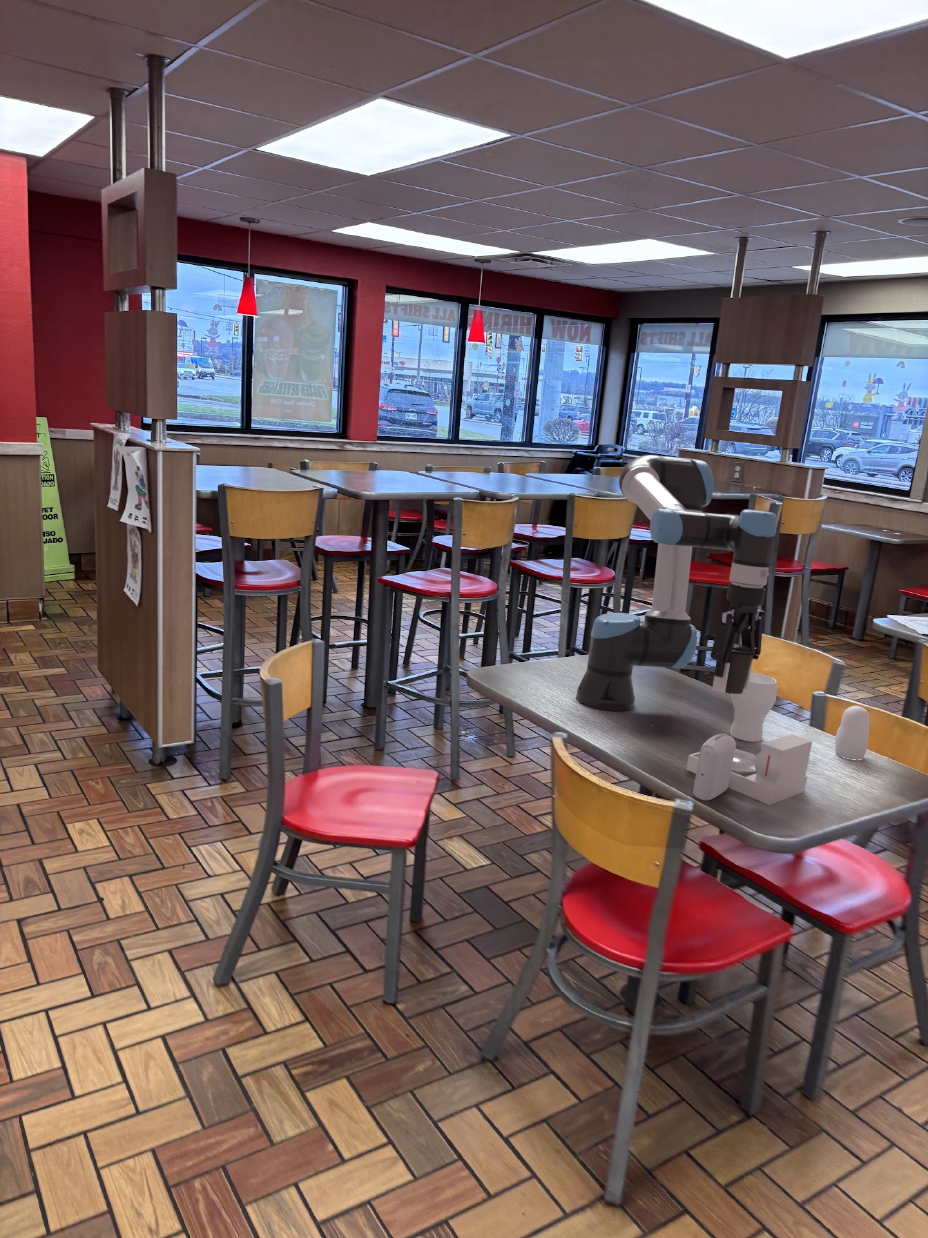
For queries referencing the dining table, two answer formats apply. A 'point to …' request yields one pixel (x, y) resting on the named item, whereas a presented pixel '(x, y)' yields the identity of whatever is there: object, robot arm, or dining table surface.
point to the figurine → (853, 733)
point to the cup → (753, 707)
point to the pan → (743, 762)
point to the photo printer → (714, 767)
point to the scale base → (772, 770)
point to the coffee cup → (738, 668)
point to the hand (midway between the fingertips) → (730, 689)
